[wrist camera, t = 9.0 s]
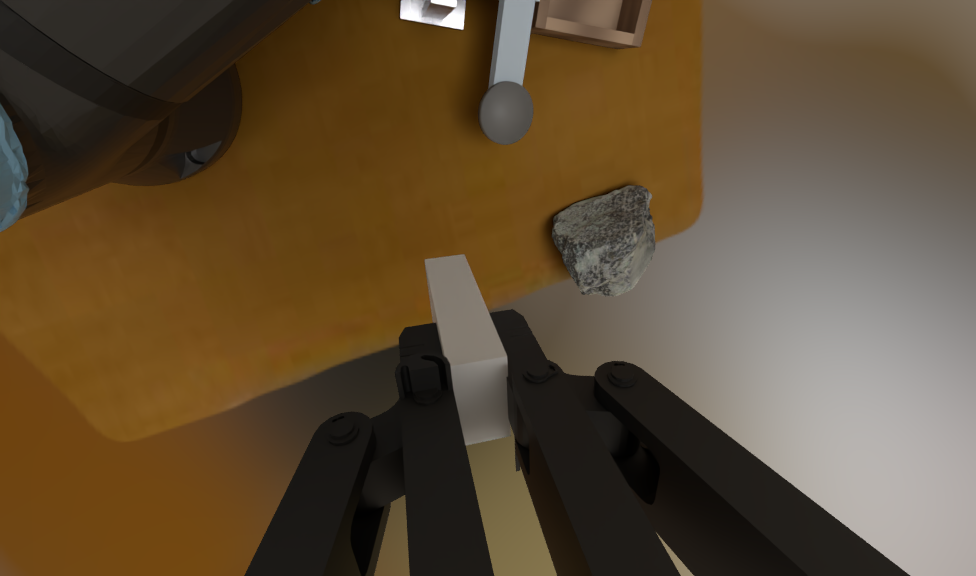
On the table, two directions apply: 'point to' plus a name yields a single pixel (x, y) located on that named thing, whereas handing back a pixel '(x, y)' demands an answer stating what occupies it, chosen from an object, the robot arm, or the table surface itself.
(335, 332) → the table surface
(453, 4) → the pivot stand
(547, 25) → the tray
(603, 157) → the table surface
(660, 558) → the robot arm
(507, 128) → the seesaw
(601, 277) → the stone
